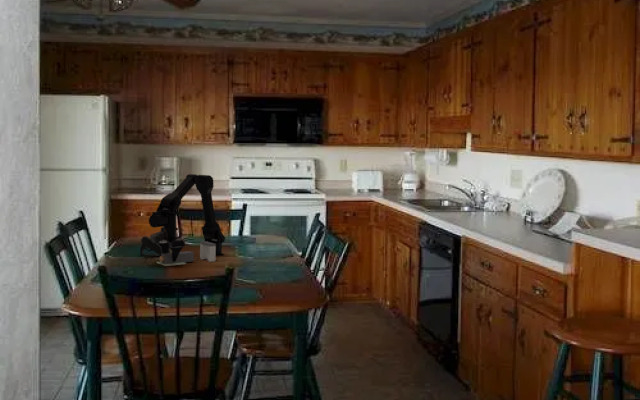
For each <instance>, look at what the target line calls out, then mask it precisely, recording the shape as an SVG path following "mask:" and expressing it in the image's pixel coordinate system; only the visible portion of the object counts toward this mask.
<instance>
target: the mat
mask: <svg viewBox="0 0 640 400" xmlns="http://www.w3.org/2000/svg"><path fill="white" fill-rule="evenodd" d="M155 263H156V264H159V265H162V266H164V267H168V266H170V267H171V266H179V265H187V262H181V263H171V264H164V263H161V262H160V261H156V262H155Z"/></svg>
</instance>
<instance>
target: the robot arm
mask: <svg viewBox="0 0 640 400" xmlns="http://www.w3.org/2000/svg"><path fill="white" fill-rule="evenodd" d="M194 186H195V188H196V190H197V191H198V193H199V194H200V198H201V204H202V210H203V217H204V225H202V227H201V231H202V235H203V240H204V241H207V242H210V243H214V244H216V256H220V255H224V253H223V251H222V250H223V247H222V246H223V243H225V242H226V241H225V240H226V236H225V235H224V234H223V232H222V229H221V227H220V226H221V225H220V224H219V223H218V222H217V220H216V216H215V215H216V214H215V209H214V204H213V196H212V191H213V189H214V187H215V186H214V177H213V176H211V175H209V174H196V173H194V174H191V173H189V174H187V175H186V177H185V178H184V179H183V181H181V183H180V184H179V185H178V186H177V187H176V188H175V189H174V190H173V191H172V192H171V193H168V194H166V195H165V196H163V197H162V198H161V200H160V203H159V205H158V206H157V209H156V211H151V212H152V214H151V215H150V216H149V218H148V224H149V226H150V227H151V228H160V227H161V228H160V230H159V231H156V232H155V233H153V234H151V235H149V238H151V240H152V242H154V243H156V244H157V245H159V246H160V249H161V252H162V254H164V253H168V249H169V250H170V253H172V260H173V262H175V261H176V259H177V257H178V255H179V253H180V252H182V249H183V248H184V247H185V246H186V241H185V240H184V239H182V238H179V237H178V236H177V231H179V228H178V227H177V216H179V215H180V212H179V211H178V209H179V207H180V206H181V204H182V199H183V198H184V197H185V196H186V195H187V194H188V192H190V190H191V189H192V188H193V187H194Z"/></svg>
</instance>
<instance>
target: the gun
mask: <svg viewBox="0 0 640 400" xmlns="http://www.w3.org/2000/svg"><path fill="white" fill-rule="evenodd" d="M140 242H141V246H140V250H139V252H140V254H139V255H140V256H141V257H143V255H144V251H145V250H146V251H147V252H154V253H155V254H157V255H158V256H159V257H160V256H161V254H162V252H161V249H160V246H159V245H157V244H156V243H154V242H152V240H151V237H150V236H149V237H148V236H142V237H141V239H140ZM168 253H171V249H170V248H169V249H168Z"/></svg>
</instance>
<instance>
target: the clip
mask: <svg viewBox="0 0 640 400" xmlns="http://www.w3.org/2000/svg"><path fill="white" fill-rule="evenodd" d="M199 243H200V244H199V245H200V246H199V247H200V248H199V259H200V260H207V262H209V263H210V262H216V256H217V255H216V244H214V243H210V242H208V241H205V240H204V241H200V242H199Z"/></svg>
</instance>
